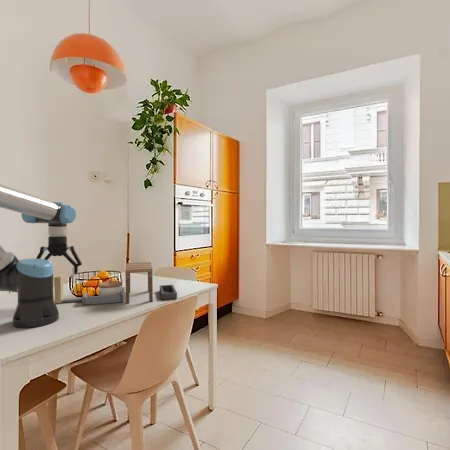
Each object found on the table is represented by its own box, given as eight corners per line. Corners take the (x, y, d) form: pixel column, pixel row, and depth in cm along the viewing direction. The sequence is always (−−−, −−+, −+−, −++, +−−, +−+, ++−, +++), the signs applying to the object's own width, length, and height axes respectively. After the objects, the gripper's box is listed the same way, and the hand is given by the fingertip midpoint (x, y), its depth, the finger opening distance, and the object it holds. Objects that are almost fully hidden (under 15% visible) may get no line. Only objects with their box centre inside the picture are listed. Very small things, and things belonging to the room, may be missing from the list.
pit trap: (176, 298, 150) (176, 292, 150) (162, 299, 148) (162, 293, 148) (172, 290, 168) (172, 284, 167) (159, 291, 166) (159, 285, 166)
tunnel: (152, 301, 146) (152, 268, 145) (125, 303, 142) (125, 269, 142) (150, 291, 166) (150, 262, 165) (127, 292, 163) (127, 263, 162)
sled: (123, 301, 144) (122, 276, 144) (51, 307, 136) (50, 279, 136) (124, 293, 160) (124, 270, 160) (60, 297, 152) (59, 273, 152)
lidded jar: (94, 299, 150) (94, 280, 150) (115, 295, 158) (115, 276, 157) (105, 303, 143) (104, 283, 142) (126, 299, 150) (126, 279, 150)
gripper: (88, 235, 150) (88, 279, 151) (29, 235, 144) (30, 281, 144) (85, 236, 143) (85, 281, 144) (24, 236, 137) (24, 284, 137)
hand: (57, 281), depth 144 cm, fingers open, 13 cm apart
